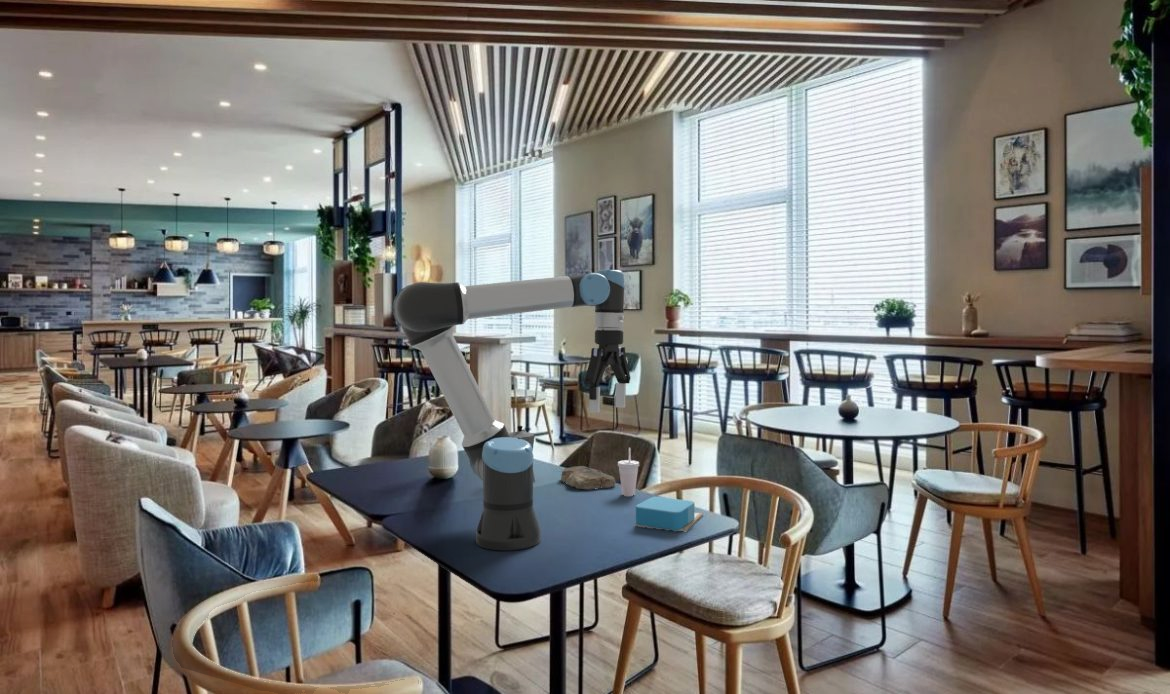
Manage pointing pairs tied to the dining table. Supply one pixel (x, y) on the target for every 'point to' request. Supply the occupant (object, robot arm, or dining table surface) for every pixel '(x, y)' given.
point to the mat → (696, 517)
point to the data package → (665, 513)
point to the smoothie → (628, 475)
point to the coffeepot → (524, 438)
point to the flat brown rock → (587, 478)
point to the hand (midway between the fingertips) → (607, 410)
